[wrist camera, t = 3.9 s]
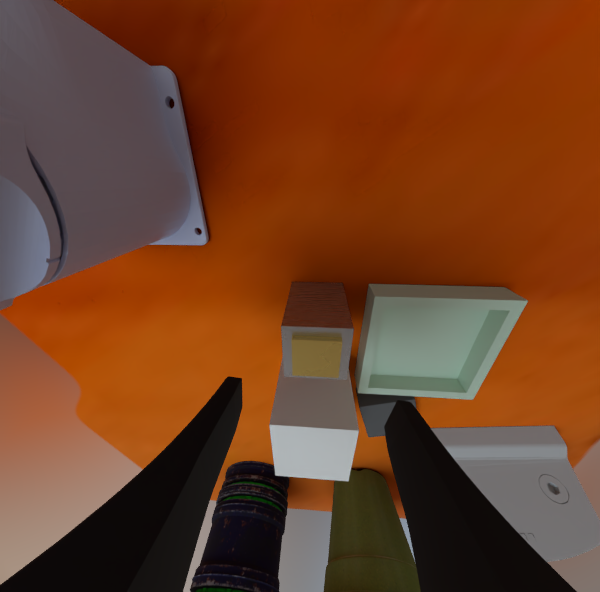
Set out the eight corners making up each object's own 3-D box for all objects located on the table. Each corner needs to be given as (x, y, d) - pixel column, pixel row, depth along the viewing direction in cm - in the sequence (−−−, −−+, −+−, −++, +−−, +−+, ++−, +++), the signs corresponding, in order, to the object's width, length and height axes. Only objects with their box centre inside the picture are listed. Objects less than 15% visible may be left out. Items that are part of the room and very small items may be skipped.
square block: (355, 385, 23) (359, 407, 21) (405, 377, 22) (414, 399, 20) (364, 414, 25) (368, 437, 23) (409, 408, 24) (419, 431, 22)
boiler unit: (280, 352, 21) (265, 424, 15) (346, 355, 21) (358, 430, 15) (284, 407, 25) (273, 482, 19) (339, 411, 25) (346, 488, 18)
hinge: (558, 425, 23) (660, 576, 17) (531, 434, 27) (606, 562, 20) (393, 428, 25) (425, 563, 19) (388, 436, 29) (413, 552, 22)
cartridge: (292, 281, 18) (280, 330, 12) (342, 282, 17) (355, 333, 12) (293, 322, 19) (283, 381, 14) (338, 324, 19) (347, 385, 14)
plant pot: (416, 466, 29) (468, 616, 19) (384, 503, 35) (410, 633, 25) (328, 450, 29) (335, 594, 19) (310, 490, 34) (307, 617, 24)
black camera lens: (214, 463, 32) (143, 658, 19) (275, 457, 30) (244, 670, 17) (242, 494, 37) (201, 671, 24) (298, 490, 35) (287, 682, 21)
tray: (368, 283, 17) (375, 296, 15) (504, 287, 16) (528, 300, 15) (354, 375, 22) (357, 393, 20) (459, 380, 21) (472, 399, 19)
